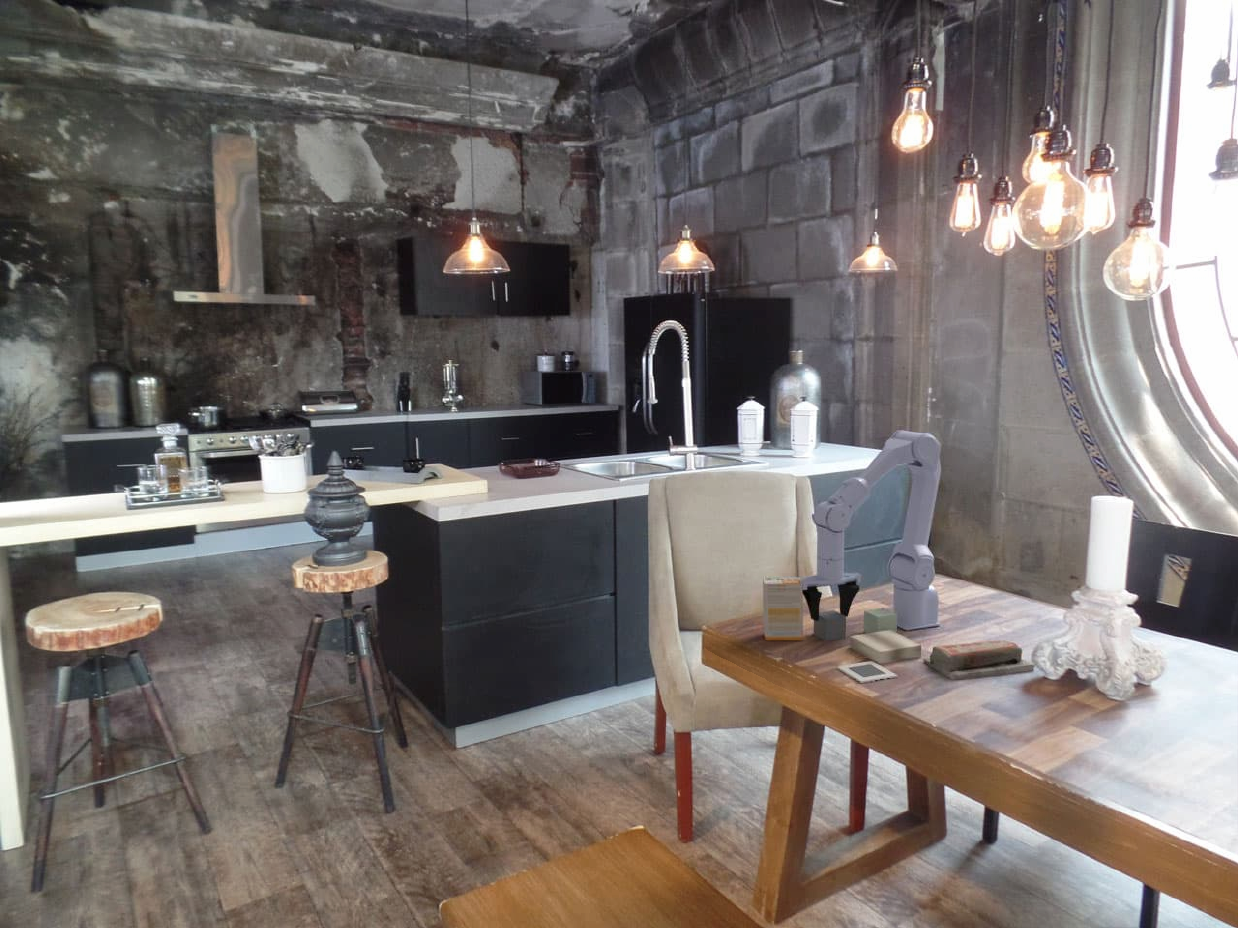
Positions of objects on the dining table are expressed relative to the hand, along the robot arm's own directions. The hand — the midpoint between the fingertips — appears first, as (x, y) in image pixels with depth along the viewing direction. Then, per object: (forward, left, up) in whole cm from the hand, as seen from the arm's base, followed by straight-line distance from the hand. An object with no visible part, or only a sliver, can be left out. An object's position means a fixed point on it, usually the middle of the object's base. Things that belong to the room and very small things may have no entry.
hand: (829, 617), depth 184 cm
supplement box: (+10, -3, -4) cm, 11 cm away
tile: (+5, +21, -4) cm, 22 cm away
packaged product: (-17, +26, -5) cm, 32 cm away
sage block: (-11, +3, -4) cm, 12 cm away
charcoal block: (0, 0, -4) cm, 4 cm away
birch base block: (-5, +13, -5) cm, 15 cm away
